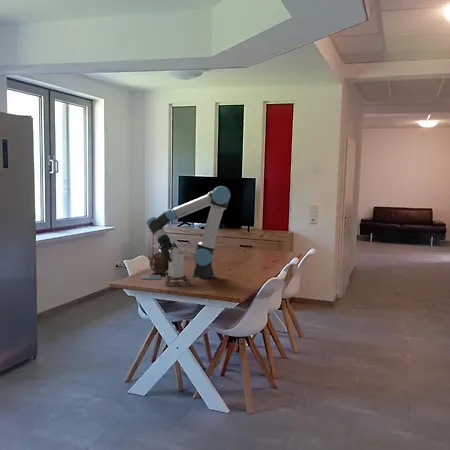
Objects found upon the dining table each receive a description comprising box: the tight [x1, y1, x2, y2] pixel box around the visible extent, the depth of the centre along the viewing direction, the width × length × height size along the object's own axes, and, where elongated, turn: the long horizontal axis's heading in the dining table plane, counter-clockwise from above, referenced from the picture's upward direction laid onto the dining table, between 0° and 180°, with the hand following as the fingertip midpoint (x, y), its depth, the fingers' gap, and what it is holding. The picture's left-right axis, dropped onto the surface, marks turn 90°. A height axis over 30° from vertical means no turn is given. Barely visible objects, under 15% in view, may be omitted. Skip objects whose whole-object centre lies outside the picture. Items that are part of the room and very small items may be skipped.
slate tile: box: [141, 274, 162, 281], centre depth 314 cm, size 12×12×2 cm
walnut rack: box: [164, 274, 190, 287], centre depth 302 cm, size 14×21×4 cm, turn 9°
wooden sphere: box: [149, 251, 169, 274], centre depth 337 cm, size 15×15×15 cm
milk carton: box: [167, 247, 185, 278], centre depth 306 cm, size 7×7×19 cm
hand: (179, 264), depth 304 cm, fingers closed on milk carton, 9 cm apart
